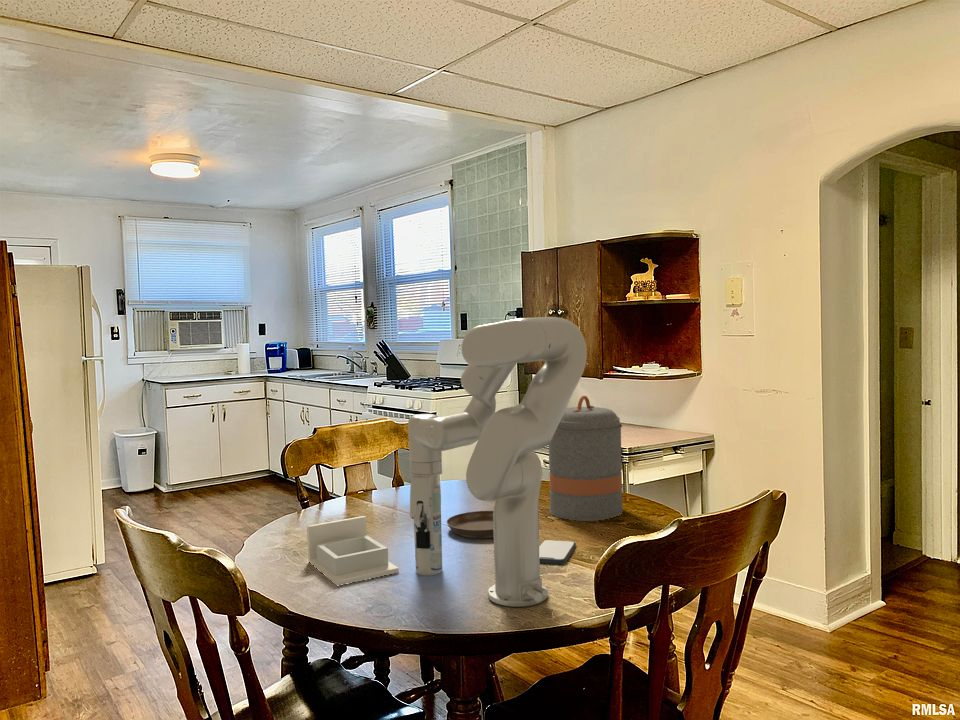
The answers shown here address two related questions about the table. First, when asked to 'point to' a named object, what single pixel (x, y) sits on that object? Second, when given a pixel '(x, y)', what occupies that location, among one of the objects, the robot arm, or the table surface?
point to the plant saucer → (473, 524)
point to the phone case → (555, 551)
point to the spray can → (431, 542)
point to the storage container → (586, 464)
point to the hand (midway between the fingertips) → (428, 542)
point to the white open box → (347, 551)
